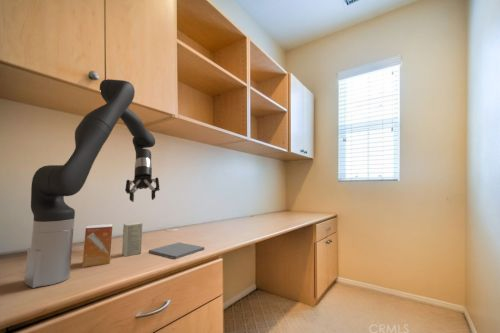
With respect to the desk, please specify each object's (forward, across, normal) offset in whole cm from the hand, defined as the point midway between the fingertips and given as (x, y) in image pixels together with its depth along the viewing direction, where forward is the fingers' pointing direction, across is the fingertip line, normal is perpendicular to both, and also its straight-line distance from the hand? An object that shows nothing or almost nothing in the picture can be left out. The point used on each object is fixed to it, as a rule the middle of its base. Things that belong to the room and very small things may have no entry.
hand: (142, 200), depth 104 cm
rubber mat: (+24, +14, +1) cm, 28 cm away
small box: (+26, -13, -9) cm, 30 cm away
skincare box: (+23, -4, 0) cm, 23 cm away
